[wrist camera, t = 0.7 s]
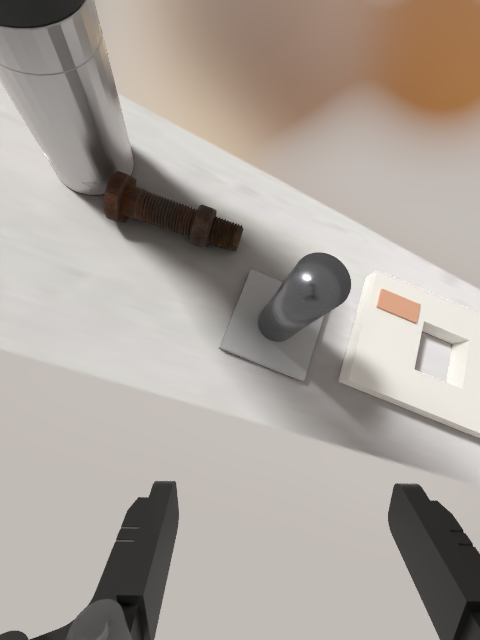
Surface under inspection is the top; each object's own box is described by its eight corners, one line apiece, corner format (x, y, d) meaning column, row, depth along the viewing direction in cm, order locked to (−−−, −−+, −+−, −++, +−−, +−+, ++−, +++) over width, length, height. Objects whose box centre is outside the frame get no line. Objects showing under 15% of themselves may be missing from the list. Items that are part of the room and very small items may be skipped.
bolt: (233, 258, 40) (117, 219, 38) (245, 219, 38) (127, 177, 37) (233, 262, 34) (97, 215, 32) (248, 216, 33) (108, 165, 31)
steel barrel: (251, 312, 35) (283, 263, 22) (285, 298, 36) (333, 245, 23) (267, 347, 34) (310, 317, 22) (301, 333, 35) (361, 296, 23)
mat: (219, 348, 34) (219, 346, 33) (249, 272, 37) (251, 268, 36) (301, 381, 35) (304, 380, 34) (325, 303, 38) (328, 300, 37)
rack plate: (338, 381, 35) (349, 380, 33) (366, 277, 39) (378, 268, 37) (493, 444, 36) (517, 447, 34) (505, 335, 40) (527, 331, 38)
